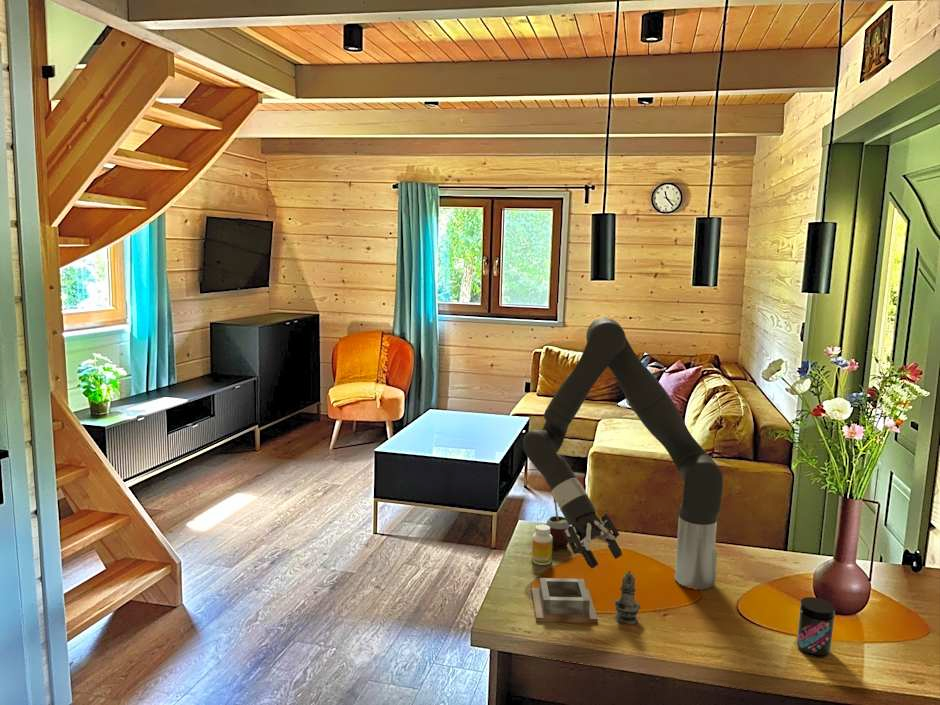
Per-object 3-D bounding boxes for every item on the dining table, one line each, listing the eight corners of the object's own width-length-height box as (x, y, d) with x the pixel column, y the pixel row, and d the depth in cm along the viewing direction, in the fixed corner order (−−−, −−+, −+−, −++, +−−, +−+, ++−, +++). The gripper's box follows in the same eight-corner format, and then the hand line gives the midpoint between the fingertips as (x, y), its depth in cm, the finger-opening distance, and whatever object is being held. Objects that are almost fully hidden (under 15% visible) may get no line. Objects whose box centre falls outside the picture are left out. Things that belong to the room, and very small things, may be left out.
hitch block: (588, 592, 179) (589, 575, 178) (597, 623, 165) (598, 604, 165) (531, 591, 179) (532, 574, 178) (536, 621, 165) (536, 603, 165)
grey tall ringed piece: (640, 615, 169) (643, 567, 167) (638, 628, 164) (641, 578, 162) (615, 610, 171) (618, 562, 169) (611, 623, 165) (614, 573, 163)
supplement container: (789, 644, 158) (793, 600, 156) (811, 638, 161) (816, 594, 159) (814, 661, 152) (819, 615, 150) (837, 654, 154) (842, 609, 153)
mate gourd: (563, 553, 201) (565, 502, 198) (537, 547, 205) (539, 496, 202) (574, 544, 207) (576, 494, 204) (548, 537, 211) (550, 488, 208)
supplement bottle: (552, 565, 193) (553, 531, 192) (532, 565, 193) (533, 530, 192) (550, 556, 199) (552, 523, 197) (531, 556, 199) (532, 522, 197)
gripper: (561, 500, 170) (596, 563, 163) (601, 487, 179) (636, 547, 172) (544, 514, 175) (577, 576, 168) (584, 501, 184) (617, 560, 177)
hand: (607, 561), depth 170 cm, fingers open, 8 cm apart
